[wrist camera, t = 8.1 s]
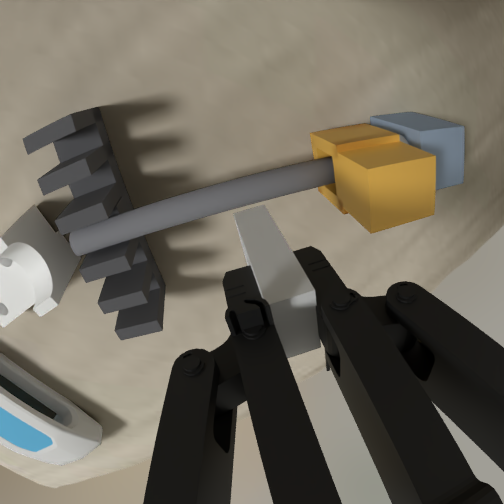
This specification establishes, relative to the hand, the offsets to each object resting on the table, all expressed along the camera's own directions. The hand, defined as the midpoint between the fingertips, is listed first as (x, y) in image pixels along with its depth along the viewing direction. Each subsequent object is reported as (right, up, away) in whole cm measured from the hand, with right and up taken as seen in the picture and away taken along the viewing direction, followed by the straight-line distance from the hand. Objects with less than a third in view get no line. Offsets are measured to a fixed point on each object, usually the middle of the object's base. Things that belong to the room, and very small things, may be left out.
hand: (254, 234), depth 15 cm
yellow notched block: (+7, +7, +9) cm, 14 cm away
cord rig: (0, +6, +11) cm, 13 cm away
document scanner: (-40, -24, +21) cm, 51 cm away
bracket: (-24, -2, +11) cm, 27 cm away
